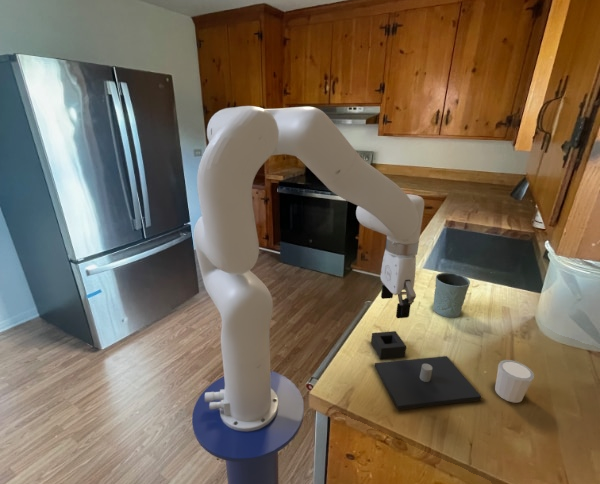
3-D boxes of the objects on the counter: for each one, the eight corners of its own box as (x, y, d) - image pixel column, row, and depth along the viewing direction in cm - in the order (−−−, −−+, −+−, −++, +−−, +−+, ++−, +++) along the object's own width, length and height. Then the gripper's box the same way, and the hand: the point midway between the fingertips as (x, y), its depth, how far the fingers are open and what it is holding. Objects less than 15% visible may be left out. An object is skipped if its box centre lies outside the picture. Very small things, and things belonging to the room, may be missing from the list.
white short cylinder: (500, 378, 81) (507, 355, 79) (531, 396, 76) (540, 372, 73) (486, 390, 78) (493, 366, 75) (517, 409, 72) (525, 384, 70)
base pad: (397, 410, 72) (400, 393, 70) (374, 366, 85) (376, 351, 83) (480, 400, 75) (484, 384, 73) (446, 359, 88) (449, 345, 86)
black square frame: (380, 359, 87) (381, 348, 86) (370, 343, 94) (372, 332, 92) (404, 357, 88) (406, 346, 87) (394, 341, 95) (395, 331, 93)
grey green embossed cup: (463, 307, 113) (470, 276, 108) (462, 322, 104) (470, 288, 100) (431, 300, 117) (437, 270, 112) (428, 314, 109) (434, 281, 104)
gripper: (374, 235, 87) (369, 292, 94) (402, 261, 71) (394, 327, 78) (400, 234, 88) (394, 290, 95) (434, 259, 72) (423, 324, 79)
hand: (394, 307), depth 86 cm, fingers open, 9 cm apart
